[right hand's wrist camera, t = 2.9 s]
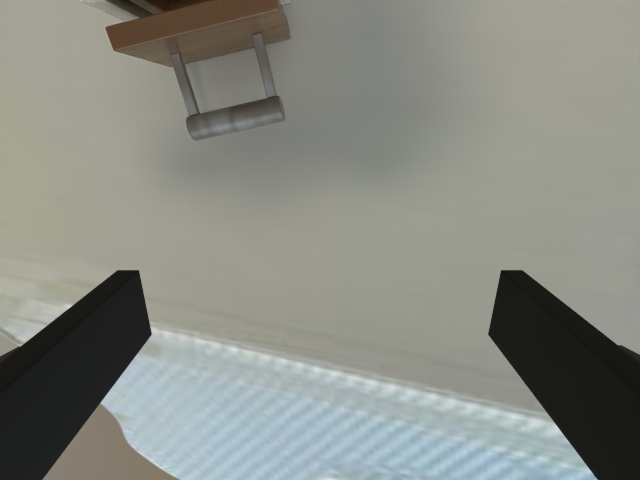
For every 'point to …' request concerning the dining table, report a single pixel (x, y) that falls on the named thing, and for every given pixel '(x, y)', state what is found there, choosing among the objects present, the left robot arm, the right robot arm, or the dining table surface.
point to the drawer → (208, 51)
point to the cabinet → (128, 8)
